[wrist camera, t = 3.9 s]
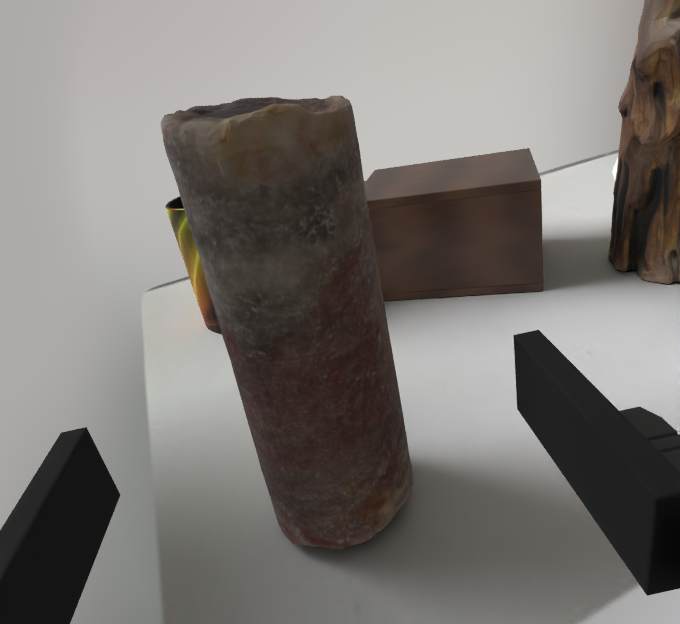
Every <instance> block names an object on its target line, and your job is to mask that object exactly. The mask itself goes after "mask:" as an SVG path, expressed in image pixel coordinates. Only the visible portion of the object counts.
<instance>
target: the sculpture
mask: <svg viewBox="0 0 680 624" xmlns="http://www.w3.org/2000/svg"><path fill="white" fill-rule="evenodd" d="M638 31H639V32H638V43H637V46H636V50H635V54H634V58H633V62H632V66H631V69H630V76H629V81H628V83H627V86H626V88H625V90H624V92H623V94H622V97H621V99H620V102H619V107H618V108H619V111H620V113H621V115H622V130H621V139H620V147H619V154H618V165H617V173H616V179H615V186H614V193H613V194H614V204H613V214H612V229H611V241H610V247H609V256H608V258H609V259H610V260H611V261H612V263H613V264H614V265H615V269H617V270H621V271H628V270H635V271H638V274H639V276H640V277H641V278H642V279H644V280H646V281H650V282H658V283H665V284H670V283H671V282H673V281H679V282H680V0H645V1H644V8H643V12H642V16H641V20H640V24H639V30H638Z"/></svg>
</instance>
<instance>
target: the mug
mask: <svg viewBox="0 0 680 624" xmlns="http://www.w3.org/2000/svg"><path fill="white" fill-rule="evenodd" d="M166 210H167V213H168V215H169V218H170V221H171V224H172V227H173V230H174V233H175V236H176V239H177V242H178V245H179V248H180V251H181V253H182V256H183V260H184V262H185V265H186V268H187V271H188V274H189V277H190V280H191V283H192V286H193V289H194V292H195V295H196V298H197V301H198V304H199V307H200V309H201V312H202V315H203V318H204V321H205V324H206V326H207V328H208V329H209V330H211V331H213V332H216V333H222V332H221V328H220V325H219V322H218V319H217V316H216V313H215V309H214V305H213V302H212V299H211V296H210V292H209V289H208V286H207V283H206V279H205V276H204V272H203V267H202V263H201V259H200V256H199V253H198V250H197V247H196V244H195V241H194V239H193V236H192V233H191V230H190V227H189V224H188V220H187V217H186V213H185V210H184V207H183V204H182V201H181V197H177V198H175V199H173V200H172V201H170V202H169V203H168V204H167V205H166Z"/></svg>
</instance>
